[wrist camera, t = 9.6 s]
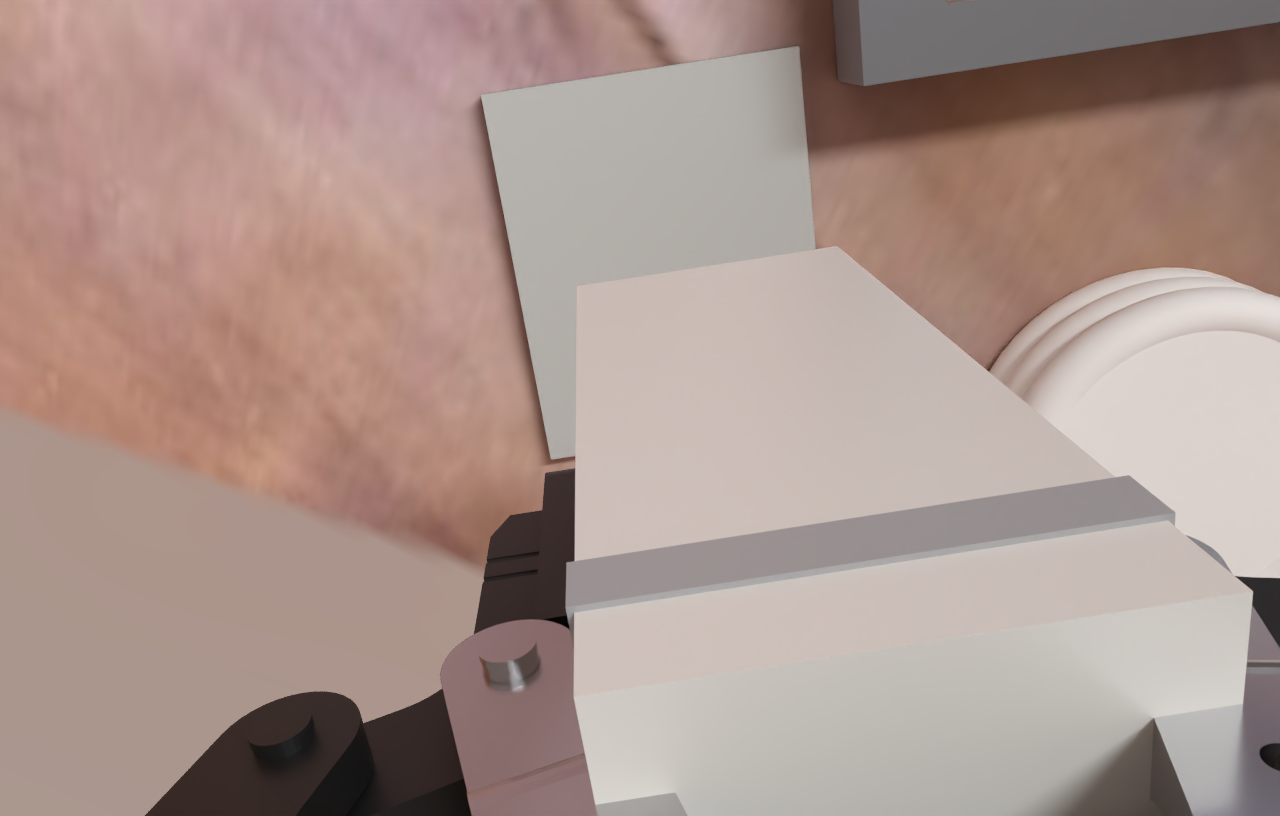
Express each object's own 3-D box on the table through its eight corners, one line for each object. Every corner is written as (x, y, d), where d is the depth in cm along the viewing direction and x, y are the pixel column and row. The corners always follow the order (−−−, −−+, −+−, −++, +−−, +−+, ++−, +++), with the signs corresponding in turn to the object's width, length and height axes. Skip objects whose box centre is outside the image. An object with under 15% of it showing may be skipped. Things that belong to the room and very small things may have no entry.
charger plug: (840, 242, 15) (1262, 583, 6) (861, 537, 17) (1207, 1158, 8) (573, 283, 15) (564, 691, 6) (622, 574, 17) (676, 1240, 8)
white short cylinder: (917, 348, 28) (960, 389, 25) (1256, 205, 28) (1348, 228, 24) (1011, 620, 32) (1060, 688, 29) (1316, 501, 31) (1404, 557, 28)
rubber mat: (795, 45, 25) (798, 46, 25) (825, 411, 29) (829, 416, 28) (482, 94, 25) (480, 95, 25) (551, 454, 29) (550, 459, 28)
